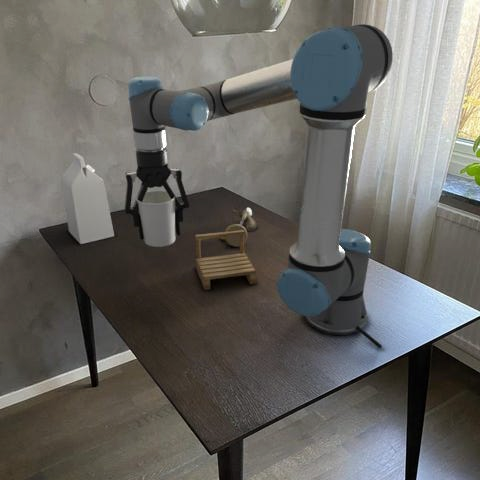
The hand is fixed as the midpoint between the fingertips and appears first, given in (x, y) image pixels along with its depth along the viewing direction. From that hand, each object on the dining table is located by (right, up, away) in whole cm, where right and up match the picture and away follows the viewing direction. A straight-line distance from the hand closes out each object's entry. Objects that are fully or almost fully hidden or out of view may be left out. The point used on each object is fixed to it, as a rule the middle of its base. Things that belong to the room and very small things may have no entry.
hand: (160, 235), depth 134 cm
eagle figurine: (+23, +10, +43) cm, 50 cm away
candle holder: (0, -1, +1) cm, 2 cm away
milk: (-29, +7, +37) cm, 47 cm away
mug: (+19, +3, +32) cm, 37 cm away
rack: (+17, -10, +13) cm, 23 cm away
